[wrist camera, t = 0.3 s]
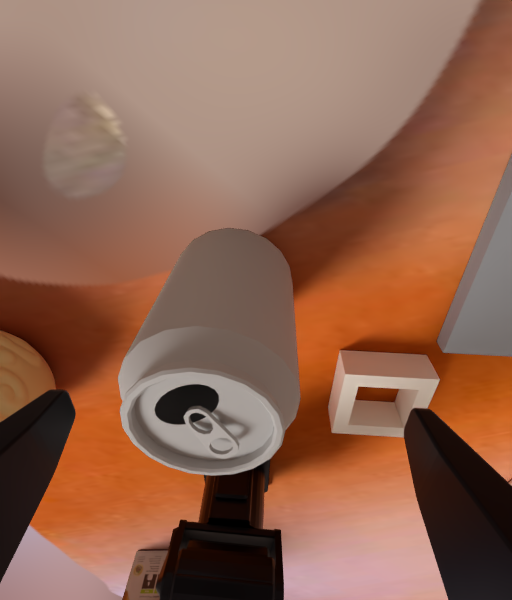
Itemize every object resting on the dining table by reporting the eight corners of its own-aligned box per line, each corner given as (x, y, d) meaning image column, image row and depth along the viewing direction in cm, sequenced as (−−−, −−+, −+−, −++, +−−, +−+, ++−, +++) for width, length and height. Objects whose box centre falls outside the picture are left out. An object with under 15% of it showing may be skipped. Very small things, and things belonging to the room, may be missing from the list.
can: (241, 197, 20) (204, 320, 10) (314, 286, 23) (342, 450, 13) (155, 267, 23) (58, 418, 13) (229, 338, 26) (198, 506, 16)
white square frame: (404, 411, 29) (414, 438, 27) (327, 407, 29) (331, 432, 27) (426, 354, 26) (440, 379, 23) (339, 349, 26) (345, 374, 24)
